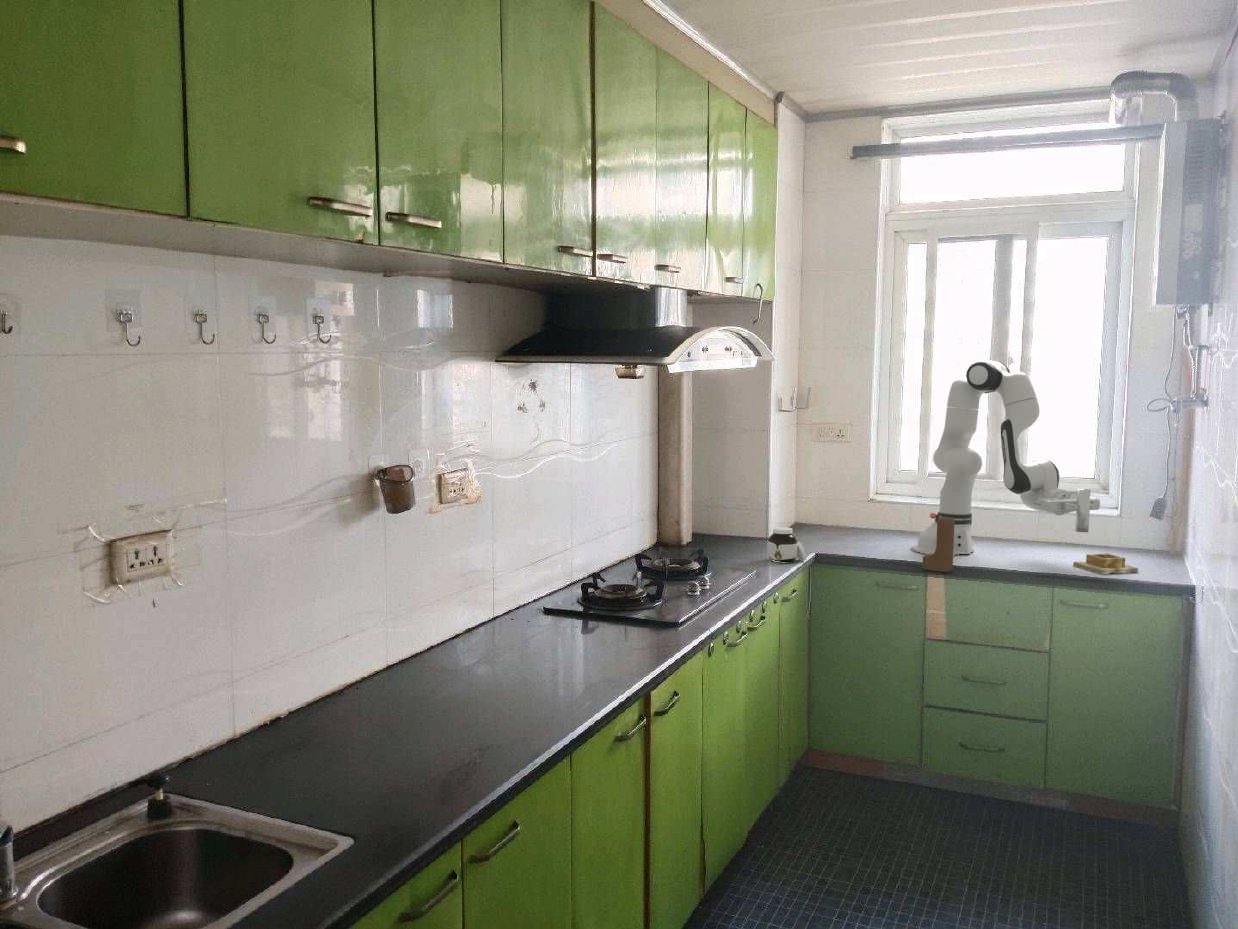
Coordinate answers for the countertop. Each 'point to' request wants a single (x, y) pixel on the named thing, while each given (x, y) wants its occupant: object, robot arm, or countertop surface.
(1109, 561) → the socket block
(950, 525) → the wooden block
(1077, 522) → the steel pin
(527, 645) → the countertop surface
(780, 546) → the spread jar
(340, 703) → the countertop surface
